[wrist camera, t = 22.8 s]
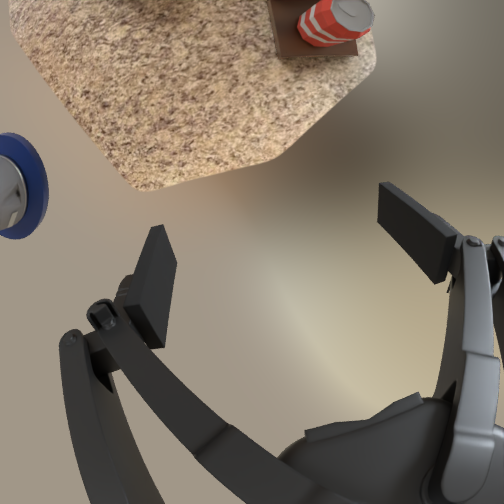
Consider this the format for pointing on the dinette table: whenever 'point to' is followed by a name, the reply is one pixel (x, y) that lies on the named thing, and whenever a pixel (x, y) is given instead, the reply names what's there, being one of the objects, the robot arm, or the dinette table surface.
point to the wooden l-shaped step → (289, 38)
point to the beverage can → (335, 22)
